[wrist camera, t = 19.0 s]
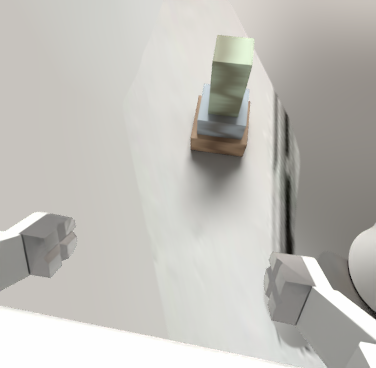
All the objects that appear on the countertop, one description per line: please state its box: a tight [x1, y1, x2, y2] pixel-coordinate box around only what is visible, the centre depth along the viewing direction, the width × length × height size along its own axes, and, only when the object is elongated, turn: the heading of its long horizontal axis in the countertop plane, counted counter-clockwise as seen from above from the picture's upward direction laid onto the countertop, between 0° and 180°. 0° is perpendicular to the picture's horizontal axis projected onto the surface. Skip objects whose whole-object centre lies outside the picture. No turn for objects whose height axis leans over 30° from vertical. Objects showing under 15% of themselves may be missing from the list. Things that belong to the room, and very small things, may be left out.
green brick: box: [208, 35, 254, 117], centre depth 35 cm, size 5×5×10 cm
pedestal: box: [191, 84, 250, 157], centre depth 43 cm, size 10×10×8 cm
